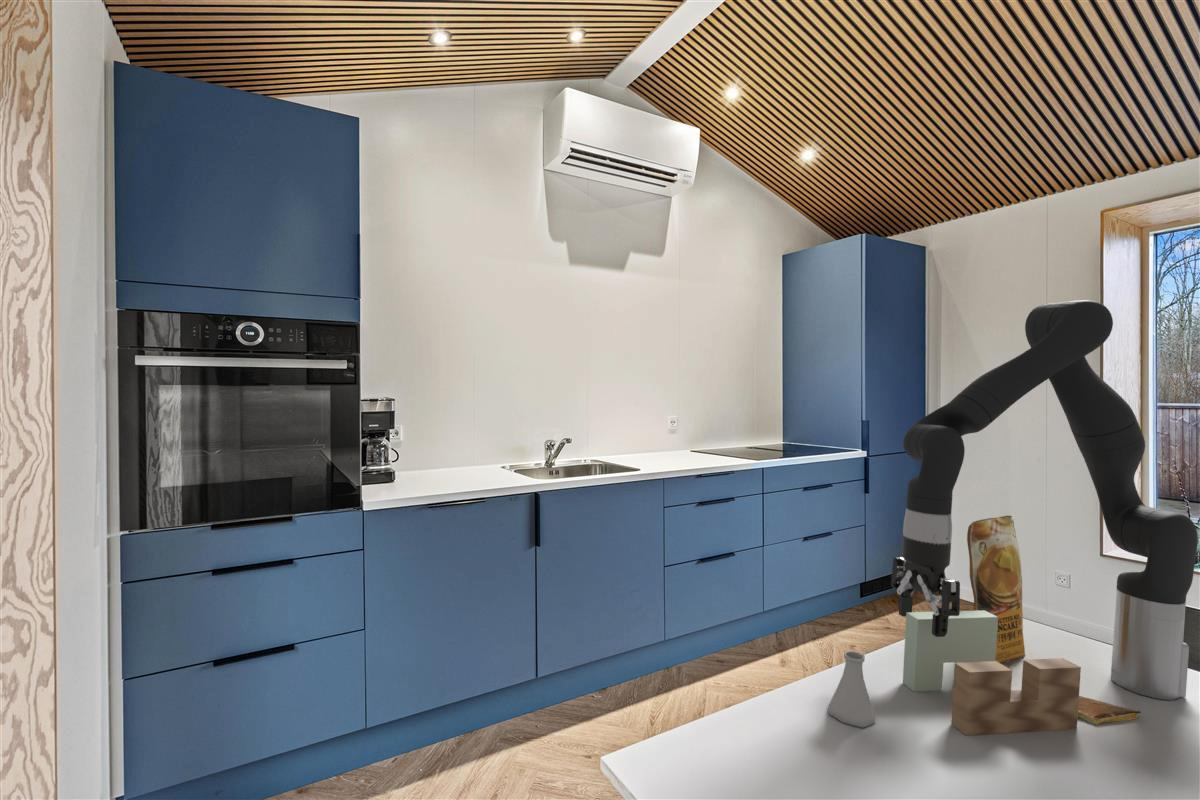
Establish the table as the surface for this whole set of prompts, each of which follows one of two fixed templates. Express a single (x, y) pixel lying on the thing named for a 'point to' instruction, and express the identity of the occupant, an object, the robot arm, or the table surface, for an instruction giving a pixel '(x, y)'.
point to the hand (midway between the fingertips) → (921, 625)
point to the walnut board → (1015, 697)
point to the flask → (852, 694)
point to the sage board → (945, 646)
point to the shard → (1103, 711)
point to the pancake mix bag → (998, 581)
